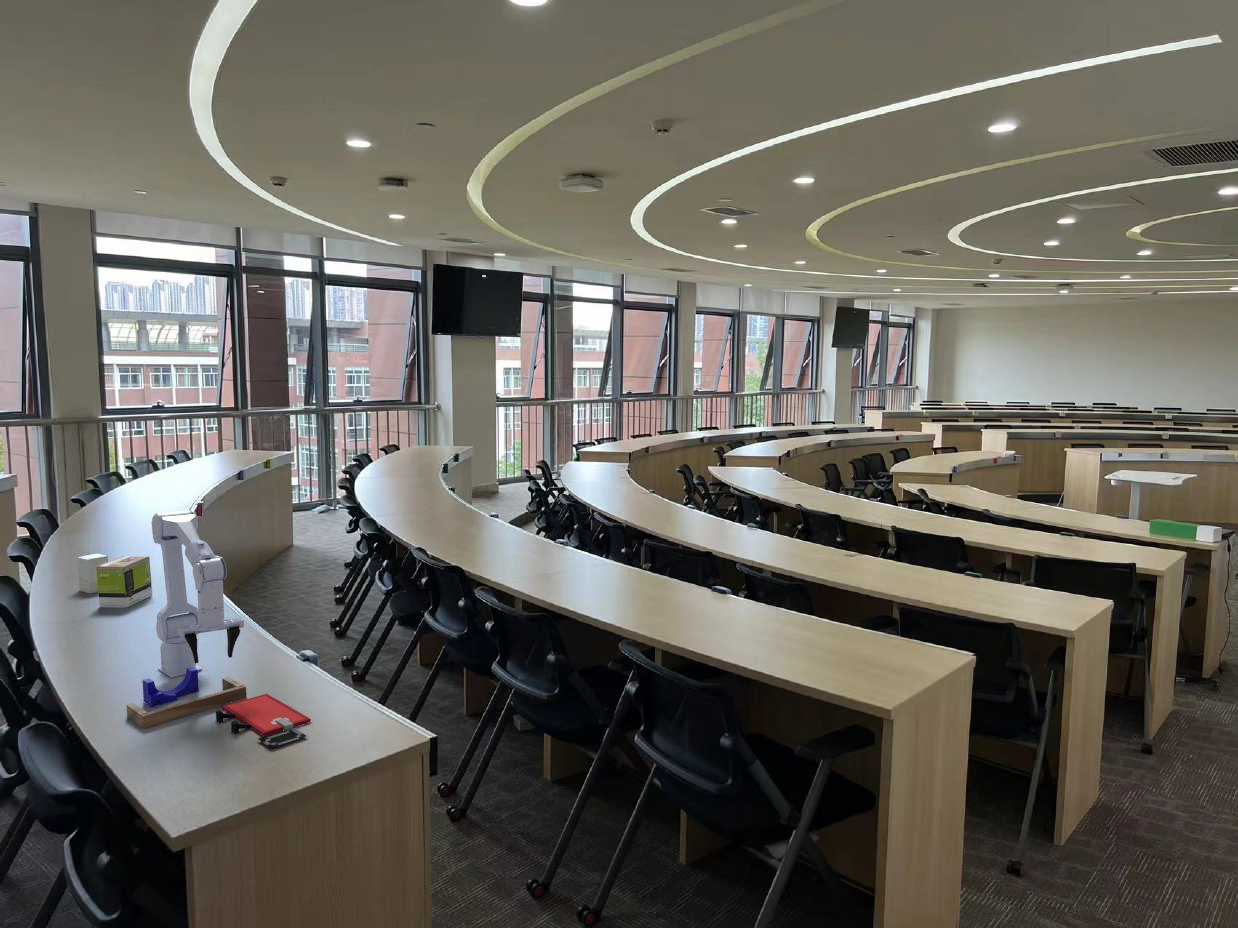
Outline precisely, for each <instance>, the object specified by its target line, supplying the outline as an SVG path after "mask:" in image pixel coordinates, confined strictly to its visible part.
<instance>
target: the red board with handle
mask: <svg viewBox="0 0 1238 928" xmlns="http://www.w3.org/2000/svg"><path fill="white" fill-rule="evenodd" d="M220 707H221V708H222V709H223V710H222V709H221V708H220V709H221V710H216V711H215V722H217V723H218V722H219V723H218V724H222V723H221V722H223V723H224V720H225V719H235V720H232V721H230V724H231V725H230V726H231V727H230V728H231V731H230V732H231V733H232V734H234V735H239V734H240V730H248V729H251V730H252V731H253V732H255V733H257V734H258V735H260V736H261V737H258V738H257V740H258V741H260V742H261V743H263V744H264V745H266V746H268V747H269V748H274V747H277V746H280V745H284V744H286V743H290V742H292V741H293V742H294V741H296V740H300V739H303V738H305V737H307V735H306V734H305V733H303V732H301V731H300V730H299V729H296V727H295V726H298V727H300V726H299V725H301V726H303V725H302V724H304V725H307V724H309V723H308V722H310V721H311V718H310V717H308V716H307V715H305V714H303V713H301V712H300V711H298V710H296V709H294V708H292V706H289V705H287V704H286V703H284V702H282V701H280V700H279V699H277V698H275V697H273V696H272V695H270V694H269V693H265V694H261V695H257V696H254V697H253V696H252V697H250V698H245V699H242V700H238V701H235V702H232V703H228V704H225V705H222V706H220ZM224 710H225V711H226V712H225V711H224ZM223 711H224V712H223ZM306 723H307V724H306ZM310 723H311V722H310ZM293 727H295V728H293ZM283 730H284V731H283Z"/></svg>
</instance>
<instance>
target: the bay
mask: <svg viewBox="0 0 1238 928" xmlns="http://www.w3.org/2000/svg"><path fill="white" fill-rule="evenodd" d="M221 679H222V681H221V682H222V683H221V684H222V690H220V691H218V692H214V693H211V694H207V695H204V696H201V697H200V696H199V697H196V698H193V699H189V700H186V701H183V702H178V703H176V704H173V705H169V706H166V707H162V708H158V709H154V710H151V711H146V710H144V709H143V708H142V707H140V706H138V705H137V704H135V702H132V703H128V704H126V717H127V718H128V719H130V720H131V721H132V722H133V723H135V724H136V725H138V726H139V727H140V728H141V729H144V730H145V729H149V728H151V727H155V726H158V725H161V724H164V723H167V722H170V721H171V722H172V721H174V720H177V719H181V718H185V717H188V716H191V715H194V714H198V713H201V712H204V711H207V710H211V708H212V709H215V708H218V707H221V706H220V705H226V704H227V703H228V704H230V702H232V703H234V702H238V701H241V700H245V699H248V698H247V686H246V685H244V684H243V683H240V682H238V681H236V680H235V679H233V678H231V677H229V676H225V677H222V678H221Z"/></svg>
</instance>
